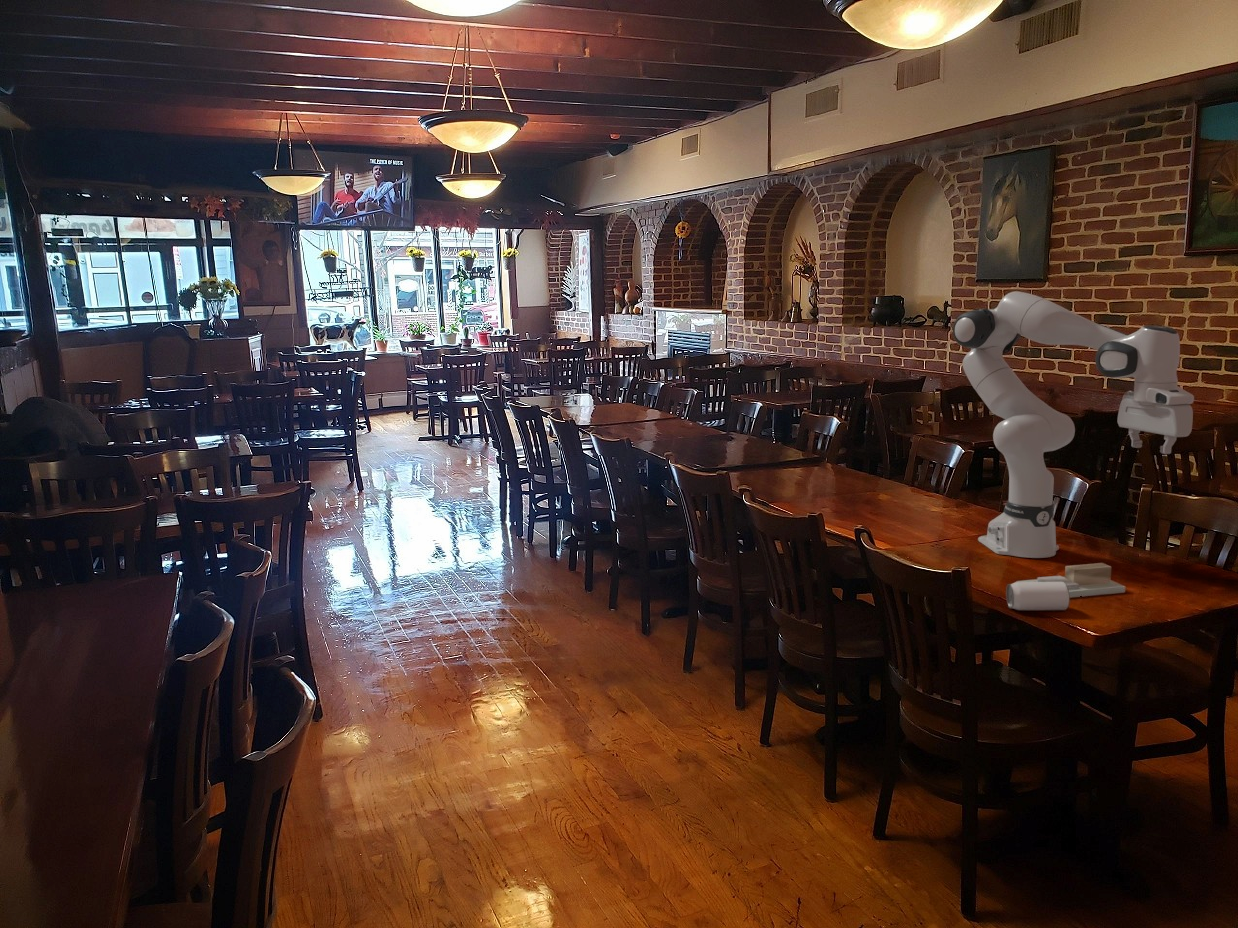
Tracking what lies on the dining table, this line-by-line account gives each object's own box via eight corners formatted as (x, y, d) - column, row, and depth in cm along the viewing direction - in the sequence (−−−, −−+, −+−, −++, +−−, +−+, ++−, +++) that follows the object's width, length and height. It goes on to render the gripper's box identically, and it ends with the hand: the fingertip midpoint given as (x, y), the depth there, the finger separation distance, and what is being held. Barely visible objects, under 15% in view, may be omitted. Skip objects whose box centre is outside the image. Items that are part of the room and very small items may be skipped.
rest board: (1016, 586, 213) (1016, 581, 213) (1095, 579, 217) (1096, 573, 217) (1042, 600, 204) (1042, 594, 203) (1124, 592, 207) (1125, 586, 207)
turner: (1037, 581, 212) (1038, 565, 212) (1095, 576, 215) (1096, 560, 214) (1056, 590, 206) (1057, 574, 205) (1115, 584, 208) (1117, 568, 208)
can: (1070, 585, 193) (1013, 586, 195) (1070, 613, 194) (1013, 613, 196) (1060, 578, 200) (1005, 578, 202) (1060, 605, 200) (1005, 605, 202)
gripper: (1112, 390, 217) (1109, 444, 219) (1175, 398, 197) (1170, 458, 199) (1135, 389, 218) (1131, 443, 220) (1200, 397, 198) (1195, 456, 200)
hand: (1150, 450), depth 210 cm, fingers open, 8 cm apart
